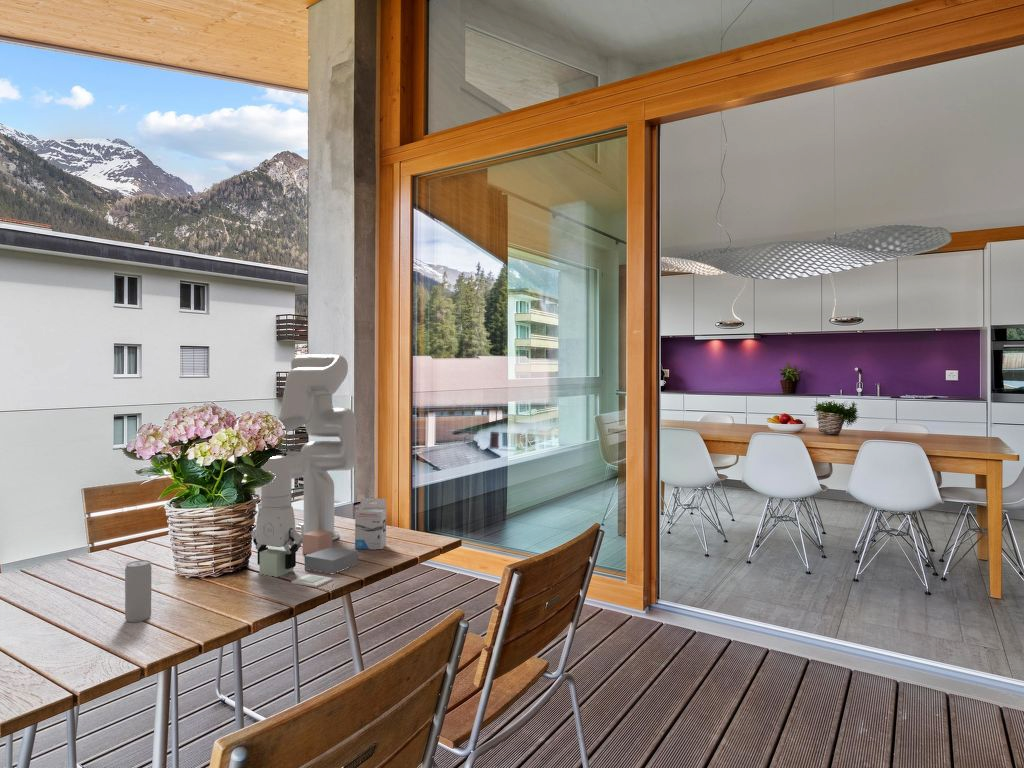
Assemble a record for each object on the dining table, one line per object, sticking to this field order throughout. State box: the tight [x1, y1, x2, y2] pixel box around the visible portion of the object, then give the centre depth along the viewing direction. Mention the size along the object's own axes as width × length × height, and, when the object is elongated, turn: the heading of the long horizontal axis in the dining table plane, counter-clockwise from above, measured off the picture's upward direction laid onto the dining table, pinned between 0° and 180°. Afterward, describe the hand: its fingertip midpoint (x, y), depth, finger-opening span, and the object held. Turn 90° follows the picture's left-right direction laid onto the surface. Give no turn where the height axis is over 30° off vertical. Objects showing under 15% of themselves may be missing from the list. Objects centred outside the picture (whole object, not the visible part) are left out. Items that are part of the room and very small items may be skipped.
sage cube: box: [259, 546, 295, 578], centre depth 161 cm, size 6×6×6 cm
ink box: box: [354, 497, 387, 550], centre depth 185 cm, size 9×5×15 cm, turn 84°
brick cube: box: [302, 530, 333, 555], centre depth 180 cm, size 6×6×6 cm
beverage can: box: [124, 559, 152, 624], centre depth 129 cm, size 5×5×12 cm
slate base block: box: [304, 546, 359, 574], centre depth 166 cm, size 10×10×4 cm
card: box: [291, 573, 333, 588], centre depth 154 cm, size 8×6×1 cm
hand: (276, 565), depth 161 cm, fingers open, 9 cm apart
